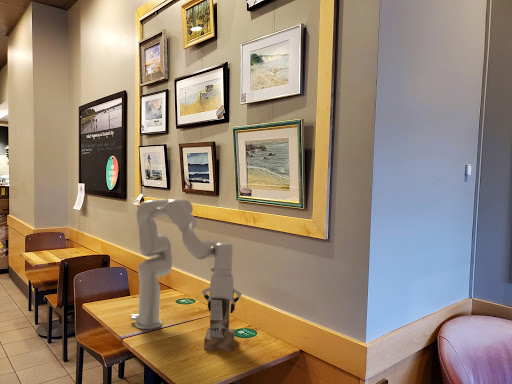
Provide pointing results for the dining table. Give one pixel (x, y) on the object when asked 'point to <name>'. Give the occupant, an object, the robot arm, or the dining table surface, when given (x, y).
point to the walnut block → (219, 341)
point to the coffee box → (219, 317)
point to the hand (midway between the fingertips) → (221, 311)
